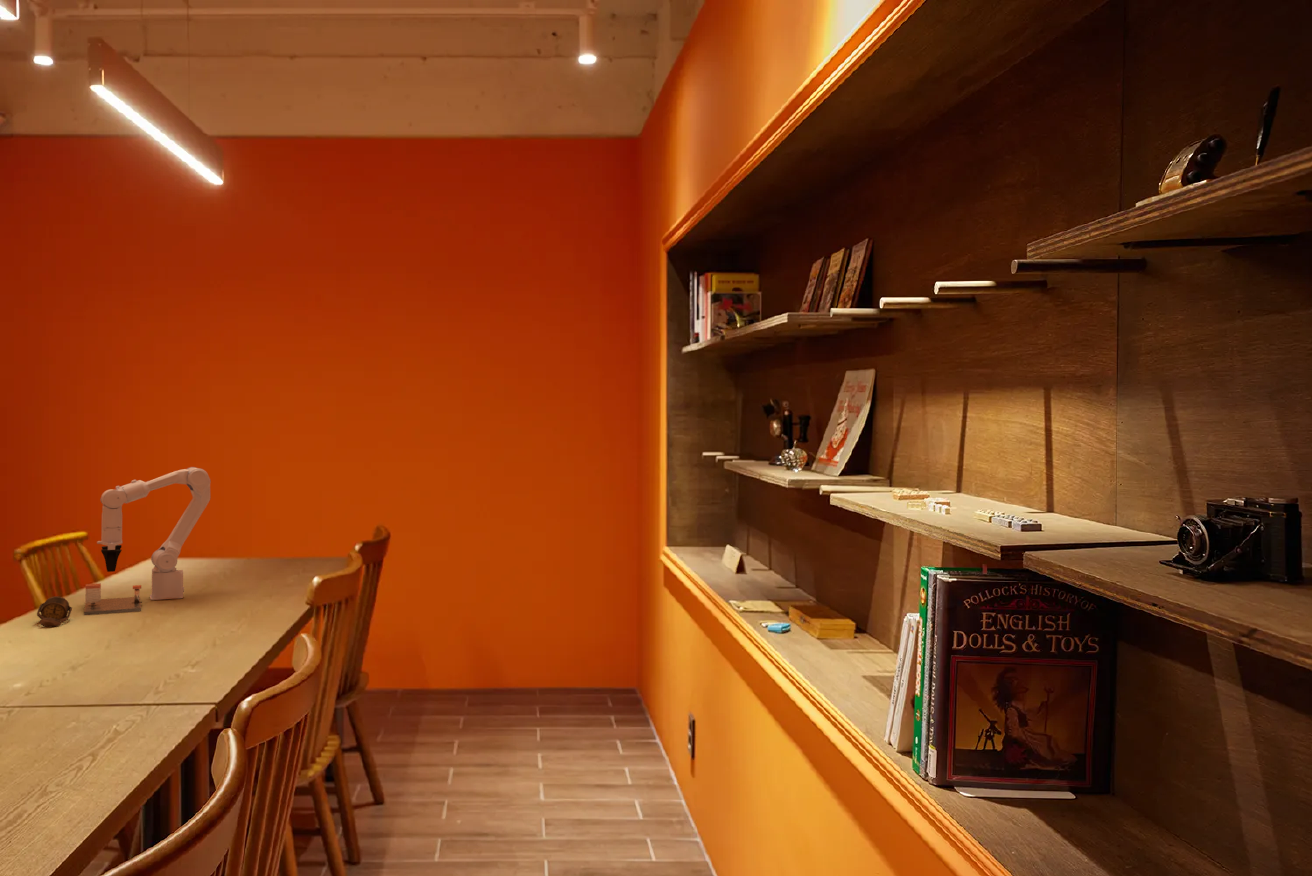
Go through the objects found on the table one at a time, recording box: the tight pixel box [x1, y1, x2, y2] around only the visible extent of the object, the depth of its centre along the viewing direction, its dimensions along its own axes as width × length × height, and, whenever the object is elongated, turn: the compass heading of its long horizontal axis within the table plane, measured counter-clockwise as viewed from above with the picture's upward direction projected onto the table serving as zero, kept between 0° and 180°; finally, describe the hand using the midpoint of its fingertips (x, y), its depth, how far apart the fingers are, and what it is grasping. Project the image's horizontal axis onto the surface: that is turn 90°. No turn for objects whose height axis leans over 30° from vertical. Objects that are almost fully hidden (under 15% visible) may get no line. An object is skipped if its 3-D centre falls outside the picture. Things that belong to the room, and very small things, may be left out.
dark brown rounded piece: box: [36, 595, 73, 628], centre depth 278 cm, size 7×13×10 cm
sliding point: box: [85, 583, 102, 605], centre depth 298 cm, size 4×4×6 cm
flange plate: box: [83, 584, 143, 616], centre depth 301 cm, size 15×20×6 cm
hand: (111, 569), depth 308 cm, fingers open, 7 cm apart
